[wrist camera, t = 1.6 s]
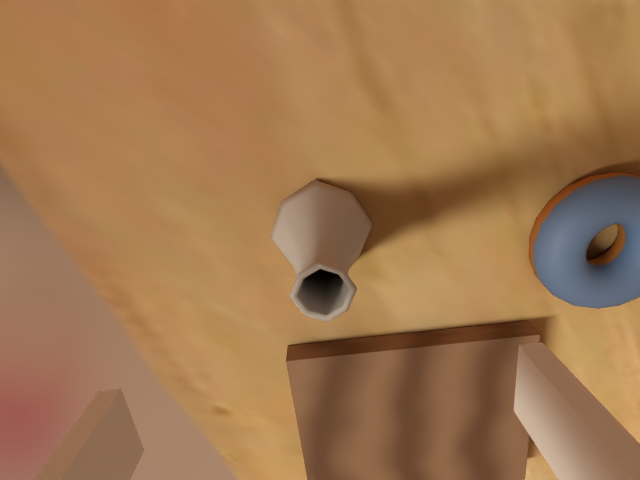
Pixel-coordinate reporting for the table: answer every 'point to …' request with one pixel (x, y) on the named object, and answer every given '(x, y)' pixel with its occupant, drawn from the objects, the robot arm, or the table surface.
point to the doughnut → (576, 234)
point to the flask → (321, 246)
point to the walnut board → (412, 405)
